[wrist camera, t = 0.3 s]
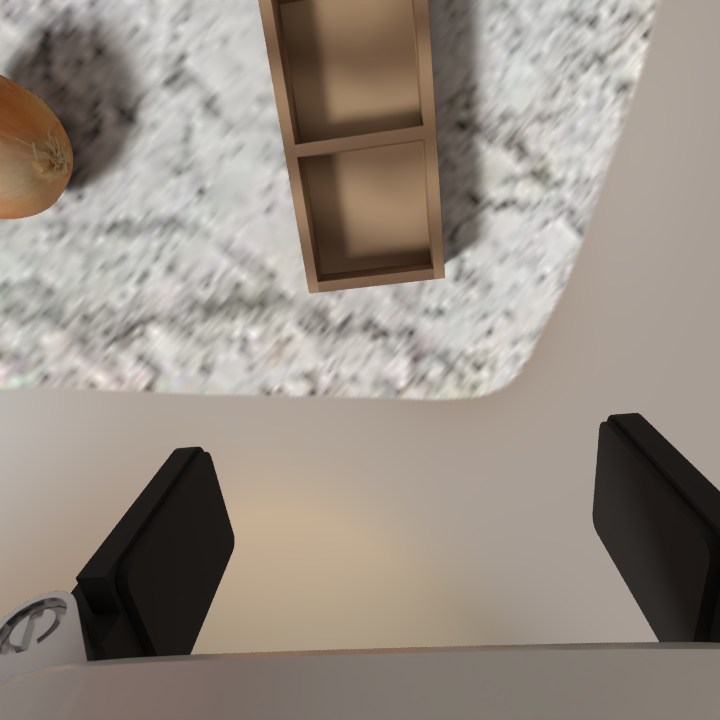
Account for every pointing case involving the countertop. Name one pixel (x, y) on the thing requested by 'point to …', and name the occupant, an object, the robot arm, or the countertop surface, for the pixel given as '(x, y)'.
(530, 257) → the countertop surface
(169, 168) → the countertop surface
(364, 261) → the wooden divided tray
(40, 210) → the onion
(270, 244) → the countertop surface
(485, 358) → the countertop surface
